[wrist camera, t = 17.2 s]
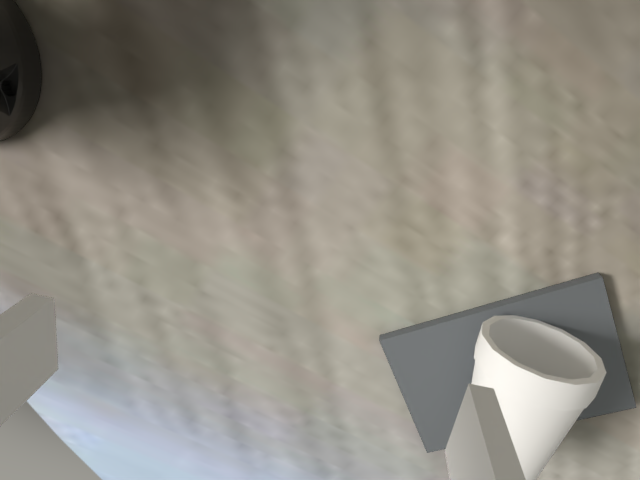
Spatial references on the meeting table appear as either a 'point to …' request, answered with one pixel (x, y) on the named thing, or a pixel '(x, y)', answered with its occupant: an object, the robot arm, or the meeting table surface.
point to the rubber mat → (459, 346)
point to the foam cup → (536, 382)
